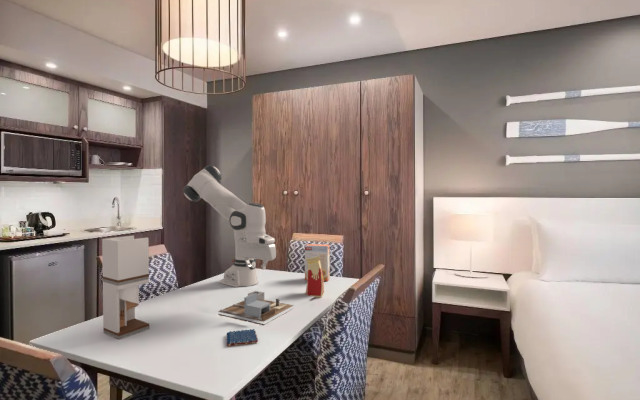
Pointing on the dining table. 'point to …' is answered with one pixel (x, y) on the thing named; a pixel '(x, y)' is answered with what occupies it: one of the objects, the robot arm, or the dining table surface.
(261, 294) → the block
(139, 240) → the coffee grinder
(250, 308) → the cover
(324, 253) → the cracker box
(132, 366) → the dining table surface
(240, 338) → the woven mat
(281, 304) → the base
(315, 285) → the milk carton
